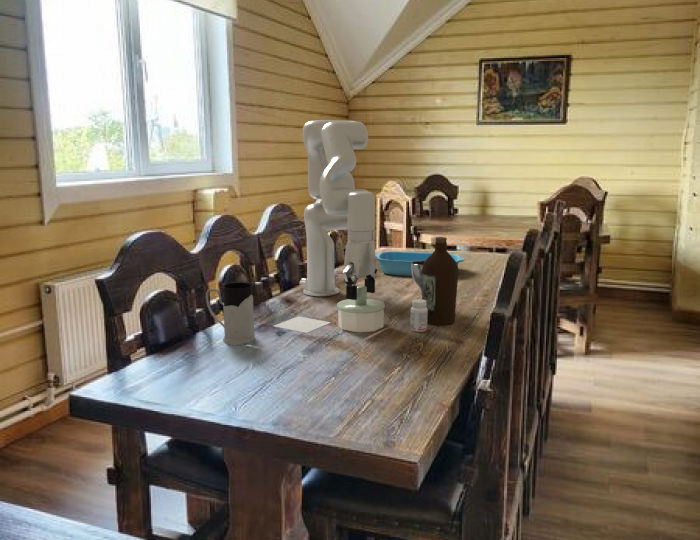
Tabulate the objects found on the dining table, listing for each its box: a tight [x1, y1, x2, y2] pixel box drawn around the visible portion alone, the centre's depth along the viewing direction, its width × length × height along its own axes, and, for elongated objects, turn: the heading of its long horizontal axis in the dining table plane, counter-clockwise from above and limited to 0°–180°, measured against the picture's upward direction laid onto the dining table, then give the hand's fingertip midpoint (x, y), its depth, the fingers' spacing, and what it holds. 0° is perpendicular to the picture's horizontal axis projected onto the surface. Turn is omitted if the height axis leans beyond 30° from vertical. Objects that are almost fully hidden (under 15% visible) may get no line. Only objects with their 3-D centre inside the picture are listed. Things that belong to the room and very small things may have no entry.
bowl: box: [337, 308, 385, 333], centre depth 176 cm, size 12×12×6 cm
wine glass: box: [411, 260, 425, 300], centre depth 195 cm, size 8×8×15 cm
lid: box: [336, 285, 386, 313], centre depth 175 cm, size 14×14×6 cm
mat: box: [273, 315, 332, 334], centre depth 178 cm, size 12×12×1 cm
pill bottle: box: [409, 298, 428, 333], centre depth 174 cm, size 5×5×8 cm
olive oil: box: [422, 236, 460, 326], centre depth 181 cm, size 11×11×25 cm
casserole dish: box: [375, 250, 465, 277], centre depth 252 cm, size 37×22×7 cm, turn 79°
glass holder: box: [205, 282, 257, 346], centre depth 165 cm, size 9×14×15 cm, turn 70°
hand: (360, 295), depth 175 cm, fingers open, 9 cm apart
